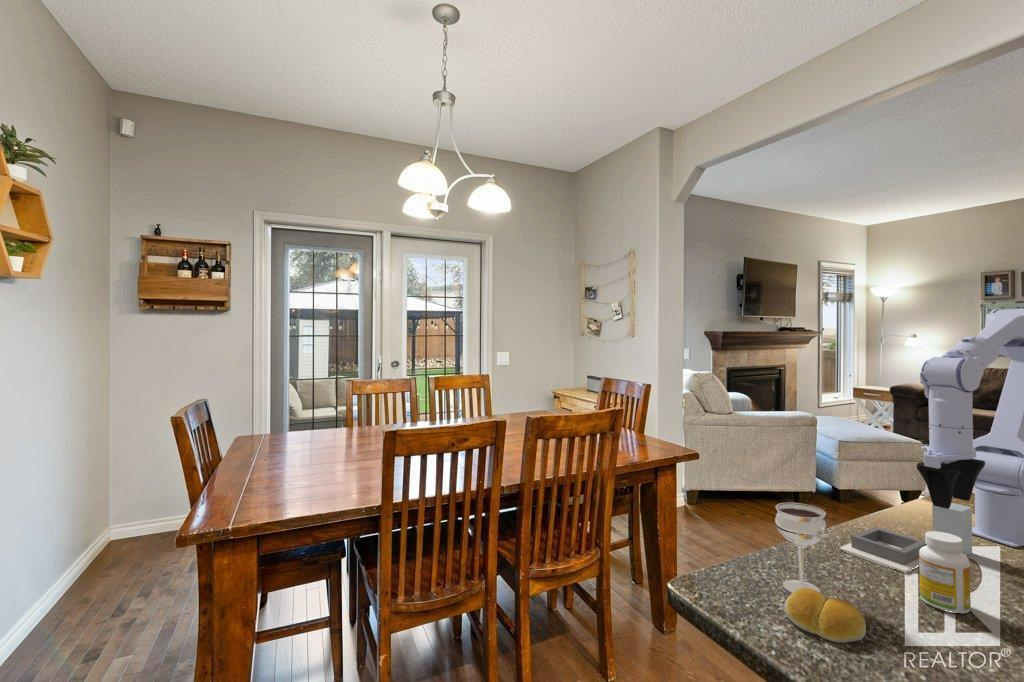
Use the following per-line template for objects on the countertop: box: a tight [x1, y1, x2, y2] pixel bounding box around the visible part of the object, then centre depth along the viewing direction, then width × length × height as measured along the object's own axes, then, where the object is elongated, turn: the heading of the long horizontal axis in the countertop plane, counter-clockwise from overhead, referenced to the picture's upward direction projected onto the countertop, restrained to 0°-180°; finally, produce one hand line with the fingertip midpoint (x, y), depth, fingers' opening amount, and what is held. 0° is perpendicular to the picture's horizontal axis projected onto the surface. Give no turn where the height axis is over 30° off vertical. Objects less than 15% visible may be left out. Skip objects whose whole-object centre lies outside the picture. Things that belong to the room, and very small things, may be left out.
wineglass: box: [774, 502, 827, 594], centre depth 74 cm, size 7×7×12 cm
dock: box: [838, 526, 927, 574], centre depth 85 cm, size 12×10×2 cm
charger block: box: [931, 502, 973, 556], centre depth 85 cm, size 4×4×8 cm
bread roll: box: [783, 588, 867, 644], centre depth 65 cm, size 8×9×4 cm
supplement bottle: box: [919, 530, 972, 615], centre depth 69 cm, size 5×5×10 cm
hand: (951, 502), depth 85 cm, fingers open, 7 cm apart
